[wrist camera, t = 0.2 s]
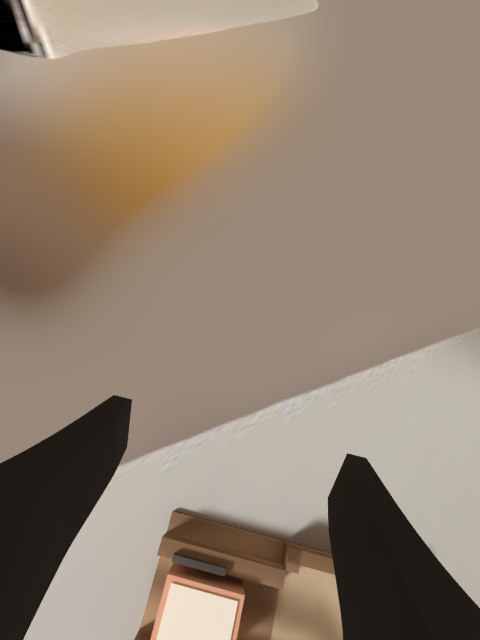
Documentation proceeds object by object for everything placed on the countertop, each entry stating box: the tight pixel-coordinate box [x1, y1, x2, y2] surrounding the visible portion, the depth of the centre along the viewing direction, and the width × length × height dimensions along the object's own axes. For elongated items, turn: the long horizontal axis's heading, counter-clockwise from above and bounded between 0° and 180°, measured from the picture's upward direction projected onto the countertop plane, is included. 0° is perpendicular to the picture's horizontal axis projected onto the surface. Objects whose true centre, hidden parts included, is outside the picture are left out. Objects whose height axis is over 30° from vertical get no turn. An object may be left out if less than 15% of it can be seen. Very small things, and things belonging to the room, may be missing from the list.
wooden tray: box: [134, 511, 343, 640], centre depth 33 cm, size 13×24×4 cm, turn 76°
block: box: [150, 563, 245, 640], centre depth 32 cm, size 5×7×5 cm
